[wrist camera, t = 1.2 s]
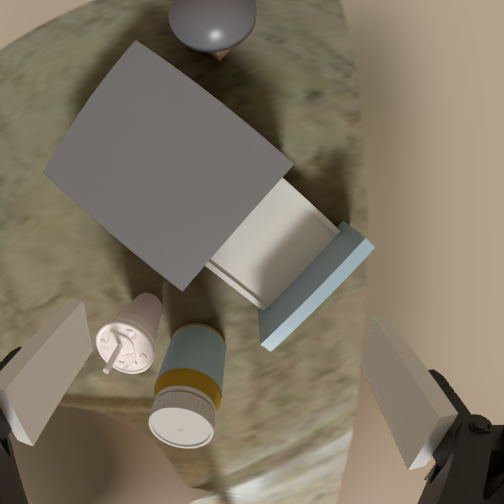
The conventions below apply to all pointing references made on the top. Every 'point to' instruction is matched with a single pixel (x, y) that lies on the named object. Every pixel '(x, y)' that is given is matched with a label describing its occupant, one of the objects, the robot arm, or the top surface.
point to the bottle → (189, 387)
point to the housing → (164, 165)
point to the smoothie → (131, 335)
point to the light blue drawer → (287, 260)
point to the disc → (212, 23)
